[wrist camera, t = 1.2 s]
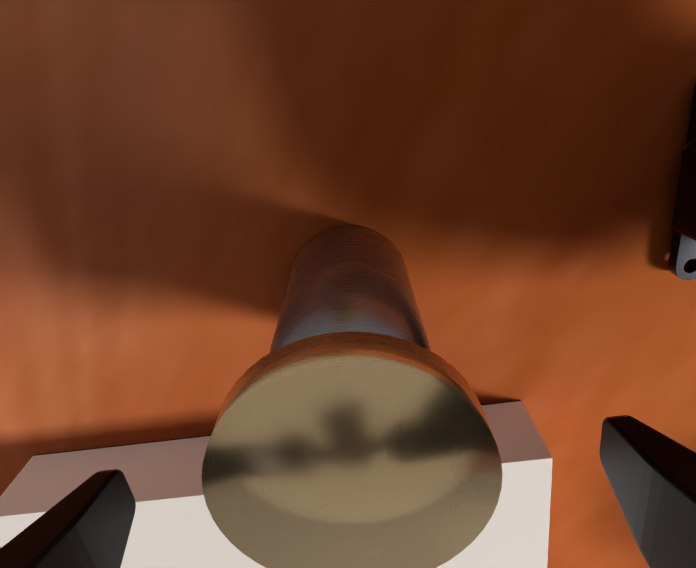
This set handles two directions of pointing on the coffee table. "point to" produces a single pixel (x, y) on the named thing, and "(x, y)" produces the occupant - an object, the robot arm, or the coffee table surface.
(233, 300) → the coffee table surface
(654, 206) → the coffee table surface
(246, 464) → the metal pin
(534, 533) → the hole plate
